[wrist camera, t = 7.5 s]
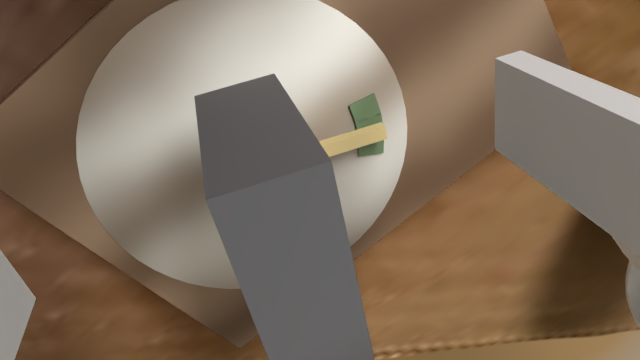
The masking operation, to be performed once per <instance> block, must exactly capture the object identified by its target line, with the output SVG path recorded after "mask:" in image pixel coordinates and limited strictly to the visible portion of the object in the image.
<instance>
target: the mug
mask: <svg viewBox="0 0 640 360" xmlns="http://www.w3.org/2000/svg"><path fill="white" fill-rule="evenodd" d="M612 238H613V239H614V240H615V242H616V244H617V245H618V246H619V248H620V249H621V251H622V253H623V254H624V255H625V256H626V257H627V258H628V259H629V263H628V267H627V272H626V279H625V291H626V299H627V303H628V306H629V309H630V311H631V314H632V316H633V318H634V320H635V321H636V323H637V325H638V326H639V328H640V256H638V255H637V254H636V253H634V252H633V251H632V250H630V249H629V248H628V247H626V246H625V245H624V244H622V243H621V242H619V241H618V240H617V239H615V238H614V237H613V236H612Z"/></svg>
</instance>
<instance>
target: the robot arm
mask: <svg viewBox="0 0 640 360" xmlns="http://www.w3.org/2000/svg"><path fill="white" fill-rule="evenodd" d="M495 150H497V151H498V152H499V153H501V154H502V155H503V156H505V157H506V158H507V159H509V160H510V161H512V162H513V163H514V164H516V165H517V166H518V167H520V168H521V169H522V170H524V171H525V172H526V173H528V174H529V175H530V176H532V177H533V178H534V179H536V180H537V181H539V182H540V183H541V184H543V185H544V186H545V187H547V188H548V189H549V190H551V191H552V192H553V193H555V194H556V195H557V196H559V197H560V198H561V199H563V200H564V201H565V202H567V203H568V204H570V205H571V206H572V207H574V208H575V209H576V210H578V211H579V212H580V213H582V214H583V215H584V216H586V217H587V218H588V219H590V220H591V221H592V222H594V223H595V224H597V225H598V226H599V227H601V228H602V229H603V230H605V231H606V232H607V233H609V234H610V235H611V236H613V237H614V238H615V239H617V240H618V241H619V242H621V243H622V244H624V245H625V246H626V247H628V248H629V249H630V250H632V251H633V252H634V253H636V254H637V255H638V256H640V98H638V97H636V96H633V95H631V94H629V93H626V92H624V91H621V90H619V89H616V88H614V87H611V86H609V85H606V84H604V83H601V82H599V81H596V80H594V79H591V78H589V77H586V76H584V75H581V74H579V73H576V72H574V71H571V70H569V69H566V68H564V67H561V66H559V65H556V64H554V63H551V62H549V61H546V60H544V59H541V58H539V57H537V56H534V55H532V54H529V53H527V52H524V51H522V50H521V51H517V52H514V53H511V54H507V55H504V56H501V57H497V58H495ZM35 300H36V297H35V296H34V295H33V293H32V292H31V291H30V289H29V288H28V287H27V285H26V284H25V282H24V281H23V280H22V278H21V277H20V276H19V274H18V273H17V272H16V270H15V269H14V268H13V266H12V265H11V263H10V262H9V261H8V259H7V258H6V257H5V255H4V254H3V253H2V251H1V250H0V360H15V357H16V354H17V352H18V349H19V346H20V343H21V340H22V337H23V334H24V332H25V329H26V326H27V323H28V320H29V317H30V314H31V312H32V309H33V306H34V303H35Z"/></svg>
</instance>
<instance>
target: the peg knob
mask: <svg viewBox="0 0 640 360" xmlns="http://www.w3.org/2000/svg"><path fill="white" fill-rule="evenodd" d="M194 99H195V108H196V117H197V126H198V135H199V144H200V153H201V162H202V171H203V180H204V189H205V198H206V202H207V205H208V207H209V210H210V212H211V215H212V217H213V220H214V222H215V225H216V228H217V230H218V233H219V235H220V238H221V240H222V243H223V245H224V248H225V250H226V253H227V255H228V258H229V260H230V263H231V265H232V268H233V270H234V273H235V276H236V278H237V281H238V283H239V286H240V288H241V291H242V293H243V296H244V298H245V301H246V303H247V306H248V308H249V311H250V313H251V316H252V318H253V321H254V324H255V326H256V329H257V331H258V334H259V336H260V339H261V341H262V344H263V346H264V349H265V351H266V354H267V356H268V359H269V360H374V355H373V350H372V346H371V341H370V337H369V332H368V327H367V323H366V318H365V313H364V309H363V304H362V299H361V295H360V290H359V286H358V281H357V276H356V272H355V267H354V262H353V258H352V253H351V249H350V244H349V239H348V235H347V230H346V225H345V221H344V216H343V211H342V207H341V202H340V198H339V193H338V188H337V184H336V179H335V174H334V170H333V165H332V161H331V159H330V158H329V157H331V156H334V155H337V154H340V153H343V152H347V151H350V150H353V149H356V148H359V147H363V146H366V145H369V144H372V143H375V142H379V141H382V140H385V139H387V133H386V126H385V125H384V124H383V123H382V122H380V123H377V124H373V125H370V126H367V127H364V128H360V129H357V130H354V131H351V132H347V133H344V134H341V135H338V136H334V137H331V138H328V139H325V140H321V141H318V139H317V138H316V136H315V135H314V133H313V132H312V130H311V129H310V127H309V126H308V124H307V123H306V121H305V120H304V118H303V116H302V115H301V113H300V112H299V110H298V109H297V107H296V106H295V104H294V103H293V101H292V100H291V98H290V97H289V95H288V94H287V92H286V90H285V89H284V87H283V86H282V84H281V83H280V81H279V80H278V78H277V77H276V75H275V74H270V75H267V76H263V77H259V78H256V79H252V80H249V81H245V82H242V83H238V84H235V85H231V86H228V87H224V88H221V89H217V90H214V91H210V92H207V93H203V94H200V95H196V96H194Z"/></svg>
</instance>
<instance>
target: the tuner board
mask: <svg viewBox="0 0 640 360" xmlns="http://www.w3.org/2000/svg"><path fill="white" fill-rule="evenodd" d="M521 50H522V51H524V52H527V53H529V54H532V55H534V56H537V57H539V58H541V59H544V60H546V61H549V62H551V63H554V64H556V65H559V66H561V67H564V68H566V69H569V70H571V71H572V69H571V67H570V64H569V62H568V59H567V57H566V54H565V52H564V49H563V47H562V44H561V42H560V39H559V37H558V34H557V32H556V29H555V27H554V24H553V22H552V20H551V17H550V15H549V12H548V10H547V7H546V5H545V2H544V0H110V1H109V2H108V3H107V4H106V5H105V6H103V7H102V8H101V9H100V10H99V11H98V12H97V13H96V14H95V15H94V16H93V17H91V18H90V19H89V20H88V21H87V22H86V23H85V24H84V25H83V26H82V27H81V28H79V29H78V30H77V31H76V32H75V33H74V34H73V35H72V36H71V37H70V38H69V39H67V40H66V41H65V42H64V43H63V44H62V45H61V46H60V47H59V48H58V49H57V50H55V51H54V52H53V53H52V54H51V55H50V56H49V57H48V58H47V59H46V60H45V61H43V62H42V63H41V64H40V65H39V66H38V67H37V68H36V69H35V70H34V71H33V72H31V73H30V74H29V75H28V76H27V77H26V78H25V79H24V80H23V81H22V82H20V83H19V84H18V85H17V86H16V87H15V88H14V89H13V90H12V91H11V92H10V93H8V94H7V95H6V96H5V97H4V98H3V99H2V100H1V101H0V190H1V191H2V192H4V193H5V194H7V195H8V196H10V197H11V198H13V199H14V200H16V201H17V202H19V203H20V204H22V205H23V206H25V207H26V208H28V209H29V210H31V211H32V212H34V213H35V214H37V215H38V216H40V217H41V218H43V219H44V220H46V221H47V222H49V223H50V224H52V225H53V226H55V227H56V228H58V229H59V230H61V231H62V232H64V233H65V234H67V235H68V236H70V237H71V238H73V239H74V240H76V241H77V242H79V243H81V244H82V245H84V246H85V247H87V248H88V249H90V250H91V251H93V252H94V253H96V254H97V255H99V256H100V257H102V258H103V259H105V260H106V261H108V262H109V263H111V264H112V265H114V266H115V267H117V268H118V269H120V270H121V271H123V272H124V273H126V274H127V275H129V276H130V277H132V278H133V279H135V280H136V281H138V282H139V283H141V284H142V285H144V286H145V287H147V288H148V289H150V290H151V291H153V292H154V293H156V294H157V295H159V296H160V297H162V298H163V299H165V300H166V301H168V302H169V303H171V304H172V305H174V306H175V307H177V308H178V309H180V310H182V311H183V312H185V313H186V314H188V315H189V316H191V317H192V318H194V319H195V320H197V321H198V322H200V323H201V324H203V325H204V326H206V327H207V328H209V329H210V330H212V331H213V332H215V333H216V334H218V335H219V336H221V337H222V338H224V339H225V340H227V341H228V342H230V343H231V344H233V345H234V346H236V347H237V348H239V349H240V348H242V347H243V346H244V345H245V344H247V343H248V342H249V341H250V340H252V339H253V338H254V337H256V336H257V335H258V331H257V329H256V326H255V324H254V321H253V318H252V316H251V313H250V311H249V308H248V306H247V303H246V301H245V298H244V296H243V293H242V291H241V288H240V286H239V283H238V281H237V278H236V276H235V273H234V270H233V268H232V265H231V263H230V260H229V258H228V255H227V253H226V250H225V248H224V245H223V243H222V240H221V238H220V235H219V233H218V230H217V228H216V225H215V222H214V220H213V217H212V215H211V212H210V210H209V207H208V205H207V202H206V198H205V189H204V180H203V171H202V162H201V153H200V144H199V135H198V126H197V117H196V108H195V99H194V96H196V95H200V94H203V93H207V92H210V91H214V90H217V89H221V88H224V87H228V86H231V85H235V84H238V83H242V82H245V81H249V80H252V79H256V78H259V77H263V76H267V75H270V74H275V75H276V77H277V78H278V80H279V81H280V83H281V84H282V86H283V87H284V89H285V90H286V92H287V94H288V95H289V97H290V98H291V100H292V101H293V103H294V104H295V106H296V107H297V109H298V110H299V112H300V113H301V115H302V116H303V118H304V120H305V121H306V123H307V124H308V126H309V127H310V129H311V130H312V132H313V133H314V135H315V136H316V138H317V139H318V141H321V140H325V139H328V138H331V137H334V136H338V135H341V134H344V133H347V132H351V131H354V130H357V129H360V128H364V127H367V126H370V125H373V124H377V123H380V122H382V123H383V124H384V125H385V126H386V133H387V139H385V140H382V141H379V142H375V143H372V144H369V145H366V146H363V147H359V148H356V149H353V150H350V151H347V152H343V153H340V154H337V155H334V156H331V157H329V158H330V159H331V161H332V165H333V170H334V174H335V179H336V184H337V188H338V193H339V198H340V202H341V207H342V211H343V216H344V221H345V225H346V230H347V235H348V239H349V244H350V249H351V253H352V258H353V260H354V259H356V258H357V257H358V256H360V255H361V254H362V253H363V252H365V251H366V250H367V249H369V248H370V247H371V246H372V245H374V244H375V243H376V242H378V241H379V240H380V239H381V238H383V237H384V236H385V235H387V234H388V233H389V232H390V231H392V230H393V229H394V228H395V227H397V226H398V225H399V224H401V223H402V222H403V221H404V220H406V219H407V218H408V217H410V216H411V215H412V214H413V213H415V212H416V211H417V210H419V209H420V208H421V207H422V206H424V205H425V204H426V203H428V202H429V201H430V200H431V199H433V198H434V197H435V196H437V195H438V194H439V193H440V192H442V191H443V190H444V189H446V188H447V187H448V186H449V185H451V184H452V183H453V182H455V181H456V180H457V179H458V178H460V177H461V176H462V175H464V174H465V173H466V172H467V171H469V170H470V169H471V168H472V167H474V166H475V165H476V164H478V163H479V162H480V161H481V160H483V159H484V158H485V157H487V156H488V155H489V154H490V153H492V152H493V151H494V150H495V58H497V57H501V56H504V55H507V54H511V53H514V52H517V51H521Z"/></svg>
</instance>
